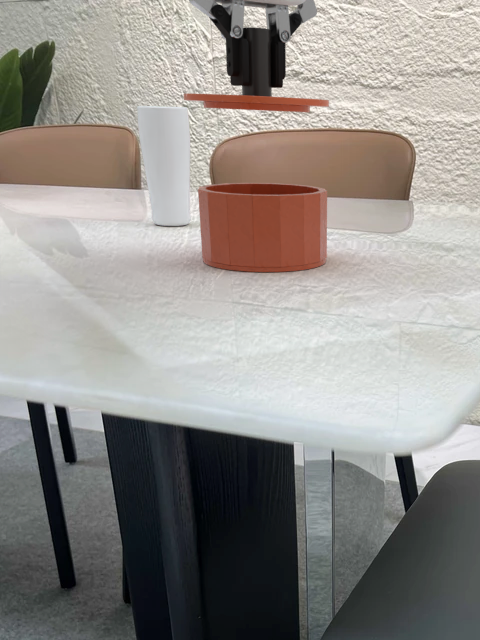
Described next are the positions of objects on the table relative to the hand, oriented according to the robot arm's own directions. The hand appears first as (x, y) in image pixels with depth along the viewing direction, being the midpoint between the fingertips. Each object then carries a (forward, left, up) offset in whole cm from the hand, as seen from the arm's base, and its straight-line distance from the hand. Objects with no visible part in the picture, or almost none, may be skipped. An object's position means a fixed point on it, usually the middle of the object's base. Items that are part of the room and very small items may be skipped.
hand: (256, 84), depth 78 cm
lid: (0, 0, -2) cm, 2 cm away
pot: (0, 0, -17) cm, 17 cm away
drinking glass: (0, +31, -18) cm, 36 cm away
